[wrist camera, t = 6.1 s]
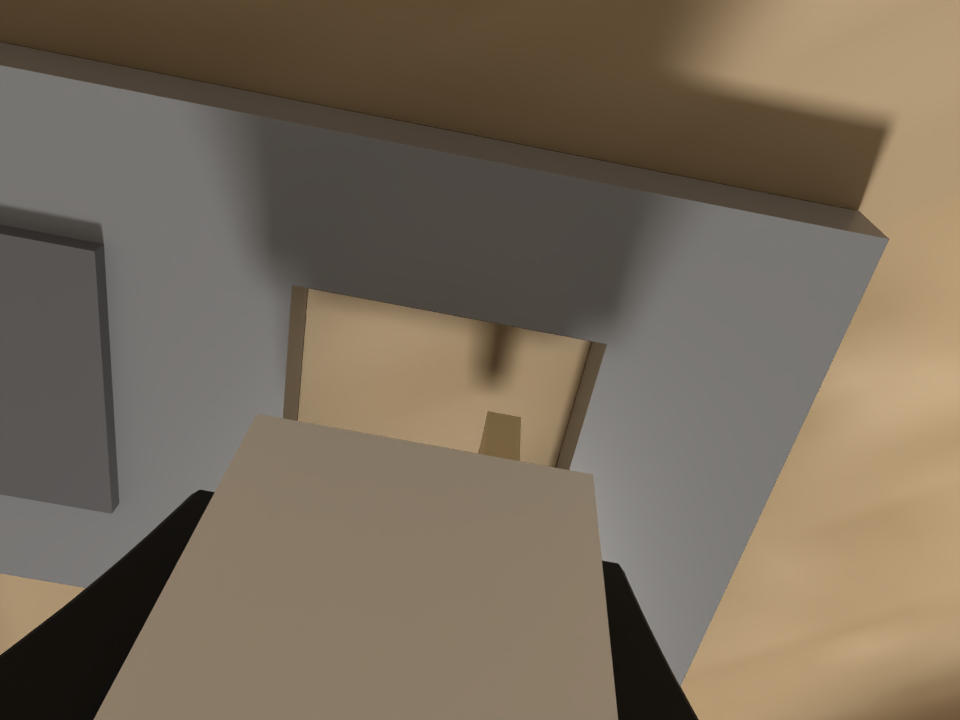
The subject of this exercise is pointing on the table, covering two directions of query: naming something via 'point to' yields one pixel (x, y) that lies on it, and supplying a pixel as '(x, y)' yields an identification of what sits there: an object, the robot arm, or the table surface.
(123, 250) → the socket strip
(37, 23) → the table surface
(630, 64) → the table surface
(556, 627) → the plug
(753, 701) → the table surface
